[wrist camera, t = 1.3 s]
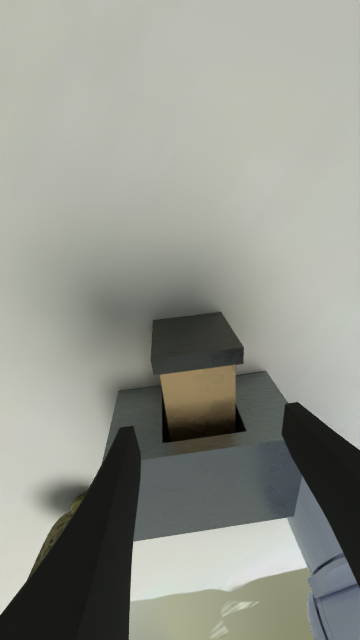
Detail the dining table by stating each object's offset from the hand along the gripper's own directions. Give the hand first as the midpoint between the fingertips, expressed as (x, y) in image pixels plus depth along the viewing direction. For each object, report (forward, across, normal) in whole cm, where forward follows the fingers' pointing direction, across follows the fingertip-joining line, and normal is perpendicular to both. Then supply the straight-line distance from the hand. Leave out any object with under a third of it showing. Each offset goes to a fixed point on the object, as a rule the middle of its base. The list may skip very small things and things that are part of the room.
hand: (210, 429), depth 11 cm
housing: (+9, 0, +10) cm, 14 cm away
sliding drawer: (+10, 0, +3) cm, 10 cm away
